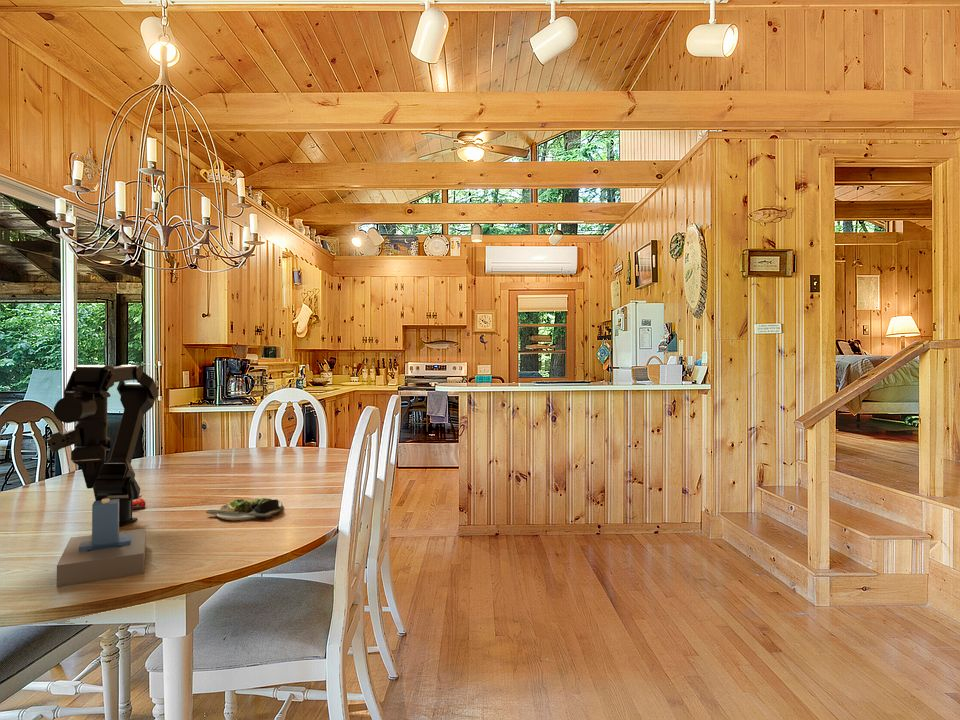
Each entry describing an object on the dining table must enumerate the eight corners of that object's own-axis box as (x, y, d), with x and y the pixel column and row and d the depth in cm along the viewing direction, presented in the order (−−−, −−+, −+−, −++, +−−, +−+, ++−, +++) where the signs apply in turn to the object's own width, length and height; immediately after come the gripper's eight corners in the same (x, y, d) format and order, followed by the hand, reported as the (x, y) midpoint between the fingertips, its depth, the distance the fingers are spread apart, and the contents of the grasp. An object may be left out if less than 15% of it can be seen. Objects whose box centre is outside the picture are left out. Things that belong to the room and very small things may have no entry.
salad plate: (200, 527, 143) (200, 509, 143) (211, 508, 160) (212, 492, 160) (280, 521, 149) (280, 504, 149) (283, 504, 166) (283, 488, 166)
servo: (80, 565, 116) (81, 498, 116) (130, 558, 120) (131, 494, 120) (78, 571, 113) (79, 502, 113) (129, 563, 117) (130, 497, 117)
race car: (147, 509, 158) (147, 495, 158) (125, 513, 154) (126, 499, 154) (132, 500, 167) (133, 487, 167) (111, 504, 163) (112, 490, 163)
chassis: (70, 556, 121) (70, 537, 121) (145, 545, 128) (146, 528, 128) (56, 586, 105) (56, 565, 105) (143, 573, 112) (143, 553, 112)
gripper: (56, 415, 136) (56, 479, 136) (42, 424, 120) (41, 497, 120) (111, 413, 141) (111, 475, 141) (104, 421, 125) (104, 491, 125)
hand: (92, 484), depth 132 cm, fingers open, 9 cm apart
